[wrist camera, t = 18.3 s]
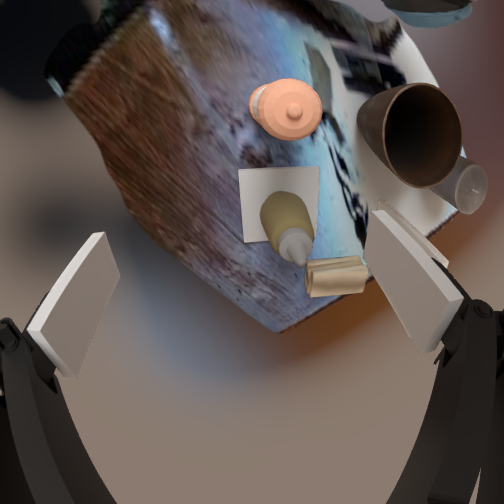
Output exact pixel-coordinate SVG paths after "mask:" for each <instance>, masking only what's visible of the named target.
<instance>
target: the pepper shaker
mask: <svg viewBox="0 0 504 504" xmlns="http://www.w3.org/2000/svg"><path fill="white" fill-rule="evenodd" d="M248 106H249V111H250V113H251V115H252V117H253V118H254V119H255V120H256V121H257V122H258V123H259V124H261V125H262V127H263V128H264V129H265V130H266V131H267V132H268V133H269V134H270V135H272V136H274V137H276V138H278V139H281V140H287V141H293V140H300V139H302V138H304V137H306V136H309V135H310V134H311V133H312V132H313V131H314V130H316V128H317V126H318V125H319V123H320V121H321V117H322V104H321V101H320V99H319V96H318V94H317V93H316V92H315V91H314V90H313V89H312V87H311V86H309V85H308V84H306V83H304V82H302V81H300V80H296V79H291V78H289V79H280V80H277V81H275V82H272V83H270V84H265V85H263V86H261V87H258V88H257V89H256V90H255V91H254V92H253V93H252V94H251V96H250V98H249V103H248Z"/></svg>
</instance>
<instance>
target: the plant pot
mask: <svg viewBox="0 0 504 504" xmlns="http://www.w3.org/2000/svg"><path fill="white" fill-rule="evenodd" d="M357 124H358V127H359V129H360V132H361V134H362V135H363V137H364V139H365V141H366V142H367V144H368V145H369V146H370V148H371V149H372V150H373V152H374V153H375V154H376V155H377V156H378V158H379V159H380V160H381V161H382V162H383V163H384V164H385V165H386V166H387V167H388V168H389V169H390V170H391V171H392V172H393V173H394V174H395V175H396V176H397V177H398V178H399V179H400V180H401V181H403V182H404V183H406V184H407V185H409V186H412V187H415V188H429V187H433V186H435V185H438V184H439V183H441V182H442V181H444V180H445V179H446V178H447V177H448V176H449V175H450V174H451V172H452V171H453V169H454V168H455V166H456V164H457V162H458V160H459V157H460V154H461V149H462V143H463V130H462V123H461V119H460V116H459V113H458V111H457V108H456V107H455V105H454V103H453V102H452V100H451V99H450V98H449V97H448V95H447V94H446V93H445V92H443V91H442V90H441V89H439V88H438V87H436V86H434V85H431V84H428V83H413V84H407V85H402V86H397V87H394V88H391V89H388V90H385V91H383V92H381V93H379V94H377V95H375V96H373V97H372V98H370V99H369V100H367V101H366V102H365V103H364V104H363V105H362V106H361V107H360V109H359V111H358V114H357Z"/></svg>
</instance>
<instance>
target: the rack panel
mask: <svg viewBox="0 0 504 504" xmlns="http://www.w3.org/2000/svg"><path fill="white" fill-rule="evenodd" d="M377 210H384V211H385V212H386V213H387V214H388V215H390V216H391V217H392V218H393V219H394V220H395V221H396V222H397V223H398V224H399V225H400V226H401V227H402V228H403V229H404V230H405V231H406V232H407V233H408V234H409V235H410V236H411V237H412V238H413V239H414V240H415V242H416V243H417V244H418V245H419V246H420V247H421V248H422V249H423V250H424V251H425V252H426V253H427V254H428V256H429V257H430V258H434V259H436V260H437V261H439V262H440V263H442V264H443V266H444V267H445V268H446V269H447V266H448V263H449V261H448V260H447V259H446V258H445V257H444V256H443V255H442V254H441V253H440V252H439V251H438V250H437V249H436V248H435V247H434V246H433V245H432V244H431V243H430V242H429V241H428V240H427V239H426V238H425V237H424V236H423V235H422V234H421V233H420V232H419V231H418V230H417V229H416V228H415V227H414V226H413V225H412V224H411V223H410V222H409V221H408V220H406V219H405V218H404V217H403V216H402V215H401V214H400V213H399V212H398V211H396V210H395V209H394V208H393V207H392V206H391V205H390V204H389V203H387V202H386V201H385V200H378V207H377ZM367 267H368V268H369V270H370V271H371V269H370V267H369V266H368V264H367ZM371 273H372V274H373V272H372V271H371ZM373 276H374V278H375V279H376V281H377V282H378V280H377V278H376V277H375V275H374V274H373ZM378 284H379V286H380V287H381V289H382V290H383V288H382V286H381V285H380V283H379V282H378ZM383 292H384V294H385V295H386V293H385V291H384V290H383ZM386 297H387V299H388V301H389V302H390V304H391V306H392V307H393V309H394V311H395V313H396V314H397V316H398V318H399V319H400V321H401V323H402V325H403V327H404V328H405V330H406V332H407V334H408V336H409V338H411V336H410V335H409V333H408V331H407V329H406V327H405V325H404V324H403V322H402V320H401V318H400V317H399V315H398V313H397V311H396V310H395V308H394V306H393V305H392V303H391V301H390V300H389V298H388V296H387V295H386Z"/></svg>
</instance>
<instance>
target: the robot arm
mask: <svg viewBox="0 0 504 504" xmlns="http://www.w3.org/2000/svg"><path fill="white" fill-rule="evenodd" d="M381 1H382V2H384V5H385V6H386V7H387V8H388V9H390V10H391V11H393V12H394V13H395V14H396V15H397V16H398V17H399V18H400V19H402V20H403V22H405V23H406V24H408V25H410V26H412V27H415V28H422V29H431V28H439V27H444V26H448V25H451V24H454V23H455V21H458V20H463V19H465V18H466V17H468V16H469V15H470V14H471V12H472V5H471V2H474V1H477V0H381ZM363 258H364V260H365V261H366V263H367V264H368V266H369V267H370V269H371V271H372V272H373V274H374V275H375V277H376V278H377V280H378V282H379V283H380V285H381V286H382V288H383V290H384V291H385V293H386V295H387V296H388V298H389V300H390V301H391V303H392V305H393V306H394V308H395V310H396V311H397V313H398V315H399V317H400V318H401V320H402V322H403V324H404V325H405V327H406V329H407V331H408V333H409V335H410V336H411V338H412V340H413V342H414V344H415V346H416V347H417V350H418V351H419V353H420V355H421V354H424V353H427V352H430V351H433V350H435V349H436V347H437V345H438V344H439V342H440V341H441V340H442V342H443V344H444V347H443V349H442V351H441V352H440V354H439V355H438V357H437V358H436V360H435V361H434V364H436V363H437V362H438V360H440V361H439V365H438V370H437V374H436V379H435V383H434V386H433V390H432V394H431V397H430V401H429V404H428V408H427V411H426V414H425V417H424V420H423V423H422V426H421V429H420V432H419V434H418V437H417V440H416V442H415V445H414V447H413V450H412V452H411V455H410V457H409V459H408V461H407V464H406V466H405V468H404V470H403V472H402V474H401V476H400V478H399V480H398V482H397V484H396V486H395V488H394V490H393V492H392V494H391V496H390V497H389V499H388V501H387V503H386V504H469V501H470V498H471V495H472V493H473V490H474V487H475V484H476V481H477V478H478V475H479V472H480V468H481V473H480V481H479V488H478V494H477V499H476V504H504V309H503V311H493V309H492V308H491V307H490V306H489V305H488V304H487V303H486V302H484V301H482V300H478V299H475V300H472V299H471V298H470V297H469V295H468V294H467V293H466V292H465V290H464V289H463V288H462V287H461V285H460V284H459V283H458V282H457V281H456V279H454V277H453V276H452V275H451V274H450V273H449V272H448V270H447V269H446V268H445V267H444V266H443V264H442V263H440V262H439V261H437V260H436V259H434V258H430V257H429V256H428V254H427V253H426V252H425V251H424V250H423V249H422V248H421V247H420V246H419V245H418V244H417V243H416V242H415V240H414V239H413V238H412V237H411V236H410V235H409V234H408V233H407V232H406V231H405V230H404V229H403V228H402V227H401V226H400V225H399V224H398V223H397V222H396V221H395V220H394V219H393V218H392V217H391V216H390V215H388V214H387V213H386V212H385V211H384V210H371V213H370V219H369V226H368V232H367V238H366V243H365V249H364V254H363ZM119 278H120V273H119V271H118V268H117V265H116V263H115V260H114V257H113V254H112V252H111V249H110V246H109V243H108V240H107V237H106V234H105V232H100V233H93V234H92V235H91V236H90V238H89V239H88V240H87V241H86V243H85V244H84V245H83V246H82V248H81V249H80V251H78V253H77V254H76V255H75V257H74V258H73V259H72V261H71V262H70V263H69V265H68V266H67V268H66V269H65V270H64V272H63V273H62V275H61V276H60V278H59V279H58V280H57V282H56V283H55V285H54V286H53V288H52V289H51V290H50V291H49V292H48V293H47V294H46V295H45V296H44V298H43V299H42V301H41V302H40V305H38V307H37V308H36V311H35V312H34V313H33V315H32V317H31V319H30V320H29V322H28V323H27V325H26V327H25V329H24V330H23V332H22V333H21V332H20V331H19V329H18V328H17V327H16V325H15V324H14V322H13V321H12V319H10V318H3V319H1V320H0V390H1V391H2V395H1V396H0V504H117V503H116V501H115V500H114V498H113V497H112V495H111V494H110V492H109V491H108V489H107V487H106V486H105V484H104V483H103V481H102V479H101V478H100V476H99V474H98V472H97V470H96V469H95V467H94V465H93V463H92V461H91V460H90V457H89V455H88V453H87V451H86V449H85V447H84V445H83V443H82V441H81V439H80V437H79V434H78V432H77V430H76V428H75V425H74V423H73V420H72V418H71V415H70V413H69V410H68V408H67V405H66V402H65V399H64V397H63V394H62V390H61V387H60V384H59V381H58V379H57V377H56V375H55V374H54V371H55V369H56V368H57V369H58V370H59V371H60V372H61V374H62V375H63V376H66V377H71V378H78V375H79V372H80V369H81V367H82V364H83V361H84V358H85V356H86V353H87V351H88V348H89V345H90V343H91V340H92V338H93V336H94V333H95V331H96V328H97V326H98V324H99V321H100V319H101V317H102V315H103V312H104V310H105V308H106V306H107V303H108V301H109V299H110V297H111V295H112V293H113V290H114V289H115V287H116V284H117V282H118V280H119Z"/></svg>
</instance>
